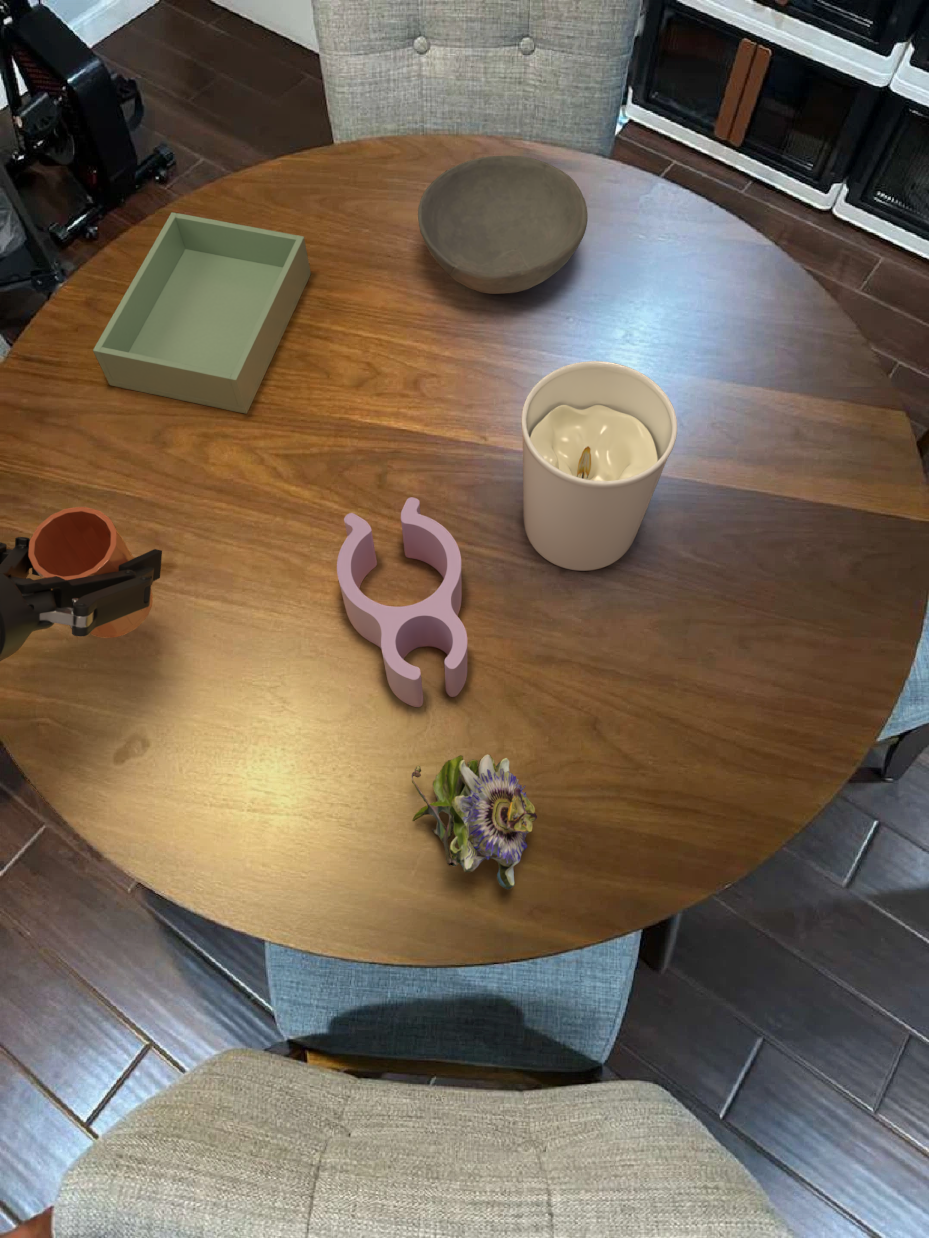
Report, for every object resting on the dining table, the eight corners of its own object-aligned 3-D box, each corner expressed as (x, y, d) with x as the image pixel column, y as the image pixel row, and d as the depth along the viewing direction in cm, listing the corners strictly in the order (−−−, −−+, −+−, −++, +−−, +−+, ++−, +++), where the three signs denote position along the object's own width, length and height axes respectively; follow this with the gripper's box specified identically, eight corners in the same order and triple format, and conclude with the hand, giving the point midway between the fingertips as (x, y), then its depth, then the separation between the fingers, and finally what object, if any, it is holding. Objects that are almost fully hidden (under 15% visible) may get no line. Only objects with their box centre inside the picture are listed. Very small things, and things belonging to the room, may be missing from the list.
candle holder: (505, 475, 110) (511, 366, 94) (632, 464, 111) (660, 354, 95) (522, 587, 103) (532, 491, 87) (658, 574, 104) (692, 476, 88)
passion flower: (511, 847, 96) (546, 896, 85) (402, 853, 94) (423, 904, 82) (514, 737, 95) (550, 771, 83) (404, 740, 92) (425, 776, 81)
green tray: (109, 385, 116) (92, 350, 111) (184, 249, 127) (171, 211, 122) (247, 414, 114) (236, 380, 109) (311, 274, 125) (304, 236, 119)
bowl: (585, 323, 121) (592, 273, 114) (417, 322, 121) (414, 273, 114) (577, 205, 130) (583, 153, 123) (422, 205, 131) (420, 152, 123)
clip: (495, 684, 98) (497, 656, 92) (377, 719, 97) (371, 692, 91) (439, 526, 107) (437, 490, 101) (330, 555, 105) (321, 520, 99)
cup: (61, 627, 91) (13, 570, 82) (94, 562, 95) (51, 499, 85) (134, 645, 90) (94, 589, 81) (165, 579, 94) (130, 517, 84)
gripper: (-172, 642, 72) (17, 568, 93) (80, 706, 69) (214, 615, 91) (-176, 545, 69) (19, 492, 91) (85, 609, 67) (222, 539, 89)
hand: (116, 554), depth 91 cm, fingers closed on cup, 7 cm apart
